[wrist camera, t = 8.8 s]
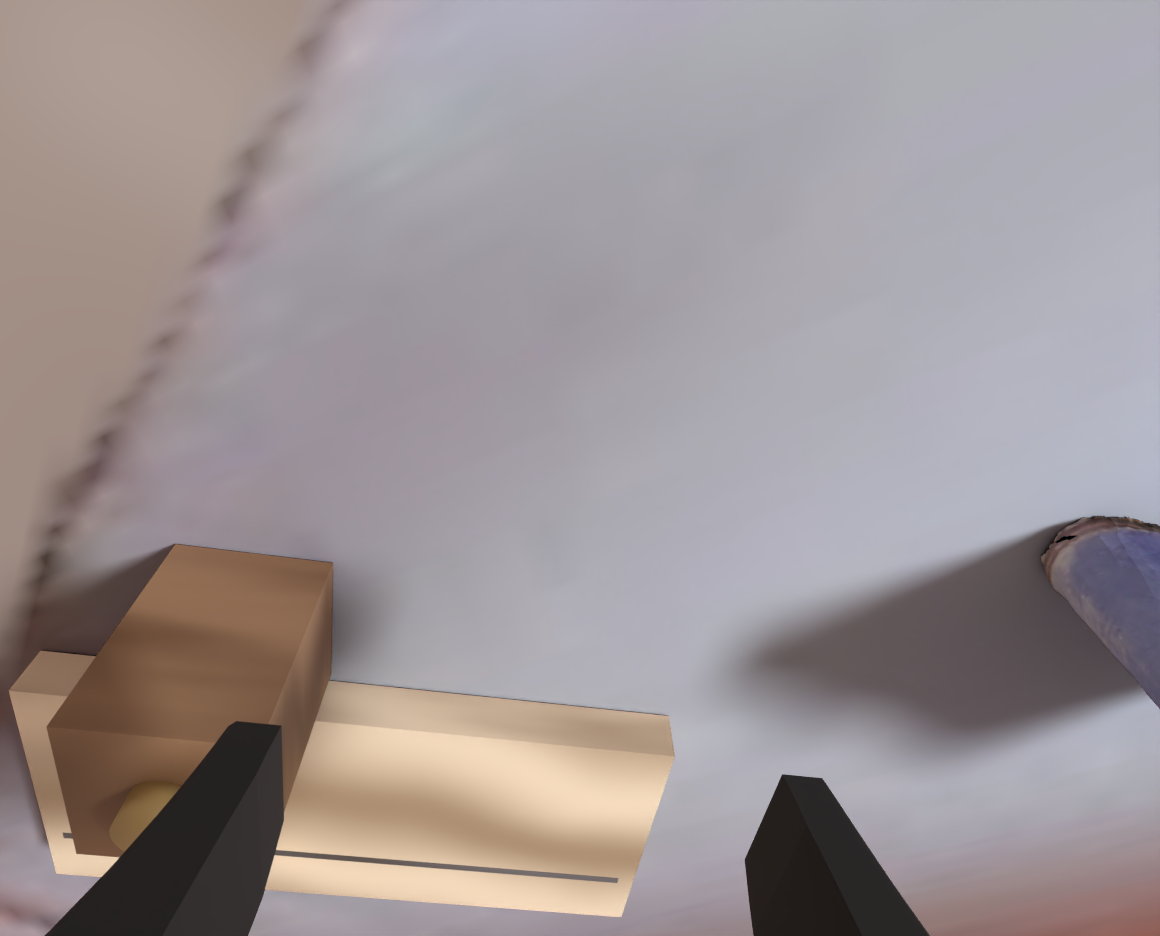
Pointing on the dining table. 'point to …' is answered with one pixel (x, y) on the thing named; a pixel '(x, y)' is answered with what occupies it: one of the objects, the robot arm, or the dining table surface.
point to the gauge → (191, 685)
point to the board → (429, 796)
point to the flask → (1114, 588)
